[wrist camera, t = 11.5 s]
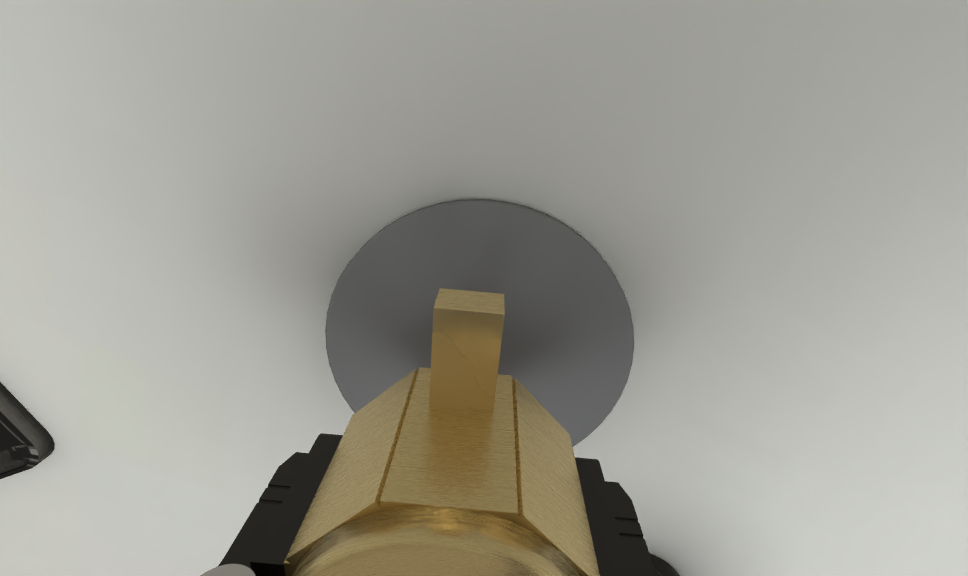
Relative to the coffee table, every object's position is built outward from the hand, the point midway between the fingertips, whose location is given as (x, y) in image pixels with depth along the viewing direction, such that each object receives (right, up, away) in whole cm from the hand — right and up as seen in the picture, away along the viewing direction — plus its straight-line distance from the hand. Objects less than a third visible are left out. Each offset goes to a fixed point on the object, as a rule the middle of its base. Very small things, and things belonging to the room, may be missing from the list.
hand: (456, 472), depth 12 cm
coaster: (+1, +3, +6) cm, 7 cm away
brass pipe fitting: (0, 0, 0) cm, 0 cm away
